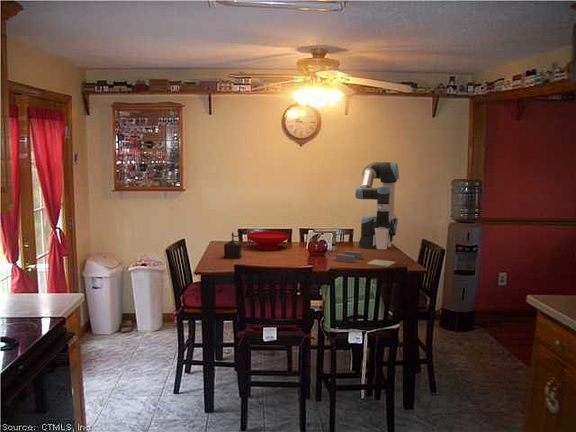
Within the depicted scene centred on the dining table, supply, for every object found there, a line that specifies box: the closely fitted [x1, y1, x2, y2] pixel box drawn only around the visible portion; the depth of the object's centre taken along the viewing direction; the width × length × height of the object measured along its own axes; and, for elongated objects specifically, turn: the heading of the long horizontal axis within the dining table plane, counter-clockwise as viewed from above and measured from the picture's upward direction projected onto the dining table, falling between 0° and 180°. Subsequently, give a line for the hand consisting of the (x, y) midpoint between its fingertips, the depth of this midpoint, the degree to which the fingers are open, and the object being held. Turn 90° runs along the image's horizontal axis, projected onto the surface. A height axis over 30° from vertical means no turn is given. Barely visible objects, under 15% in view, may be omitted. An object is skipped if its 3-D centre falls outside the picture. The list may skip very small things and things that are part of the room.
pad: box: [366, 259, 397, 268], centre depth 331 cm, size 14×14×1 cm
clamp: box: [332, 250, 364, 264], centre depth 342 cm, size 16×14×4 cm
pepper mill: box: [223, 228, 244, 260], centre depth 348 cm, size 16×11×18 cm
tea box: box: [312, 228, 337, 252], centre depth 375 cm, size 15×10×15 cm
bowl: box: [246, 230, 290, 251], centre depth 382 cm, size 30×30×10 cm
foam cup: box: [375, 227, 390, 250], centre depth 329 cm, size 10×9×13 cm
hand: (381, 245), depth 329 cm, fingers closed on foam cup, 9 cm apart
